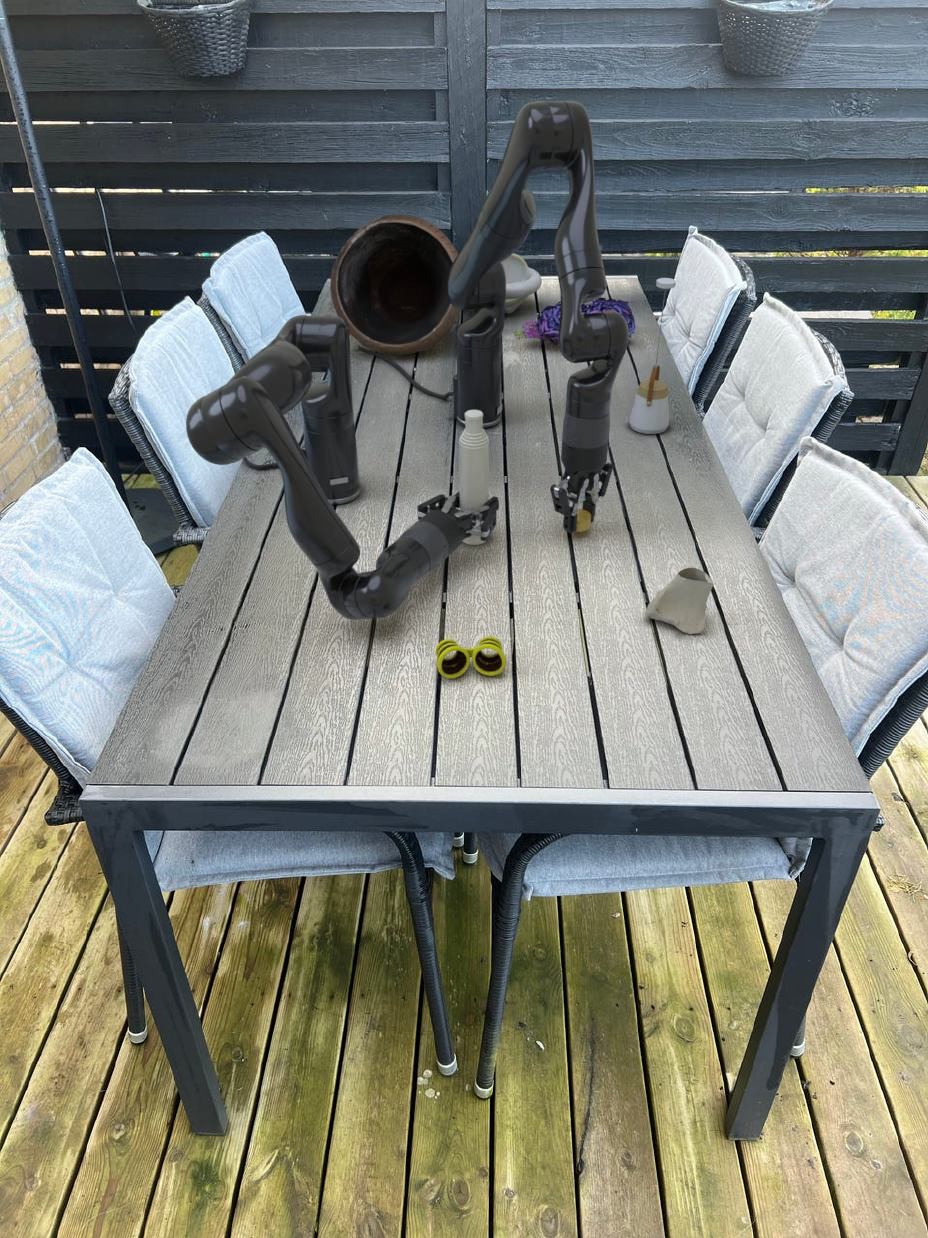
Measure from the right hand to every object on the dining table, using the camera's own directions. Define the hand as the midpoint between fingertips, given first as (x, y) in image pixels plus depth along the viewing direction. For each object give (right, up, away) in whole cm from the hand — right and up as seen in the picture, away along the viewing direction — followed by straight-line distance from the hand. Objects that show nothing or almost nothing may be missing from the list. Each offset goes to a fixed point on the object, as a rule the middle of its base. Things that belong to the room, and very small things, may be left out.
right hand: (578, 525), depth 161 cm
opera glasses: (-19, -23, -27) cm, 41 cm away
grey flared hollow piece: (+12, -17, -19) cm, 29 cm away
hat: (-10, +68, +91) cm, 114 cm away
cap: (0, +1, -1) cm, 2 cm away
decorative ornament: (+7, +52, +71) cm, 88 cm away
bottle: (-18, -2, 0) cm, 18 cm away
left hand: (-17, +5, -2) cm, 18 cm away
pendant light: (+19, +24, +34) cm, 46 cm away
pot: (-35, +55, +75) cm, 100 cm away
